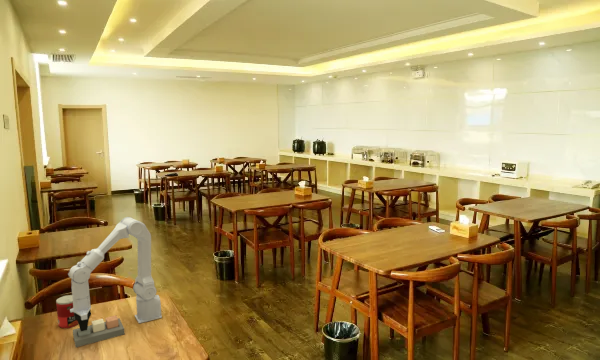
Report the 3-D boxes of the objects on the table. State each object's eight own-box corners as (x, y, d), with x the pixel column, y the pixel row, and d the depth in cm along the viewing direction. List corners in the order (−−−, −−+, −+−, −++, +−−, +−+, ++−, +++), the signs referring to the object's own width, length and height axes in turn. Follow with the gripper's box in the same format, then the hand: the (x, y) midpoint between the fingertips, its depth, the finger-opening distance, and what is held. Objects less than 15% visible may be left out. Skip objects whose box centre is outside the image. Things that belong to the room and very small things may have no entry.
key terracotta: (116, 322, 167) (116, 315, 166) (118, 326, 163) (118, 319, 163) (106, 324, 165) (105, 317, 164) (107, 329, 161) (107, 321, 161)
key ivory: (103, 325, 164) (102, 318, 164) (104, 329, 161) (104, 322, 160) (92, 328, 162) (91, 321, 161) (93, 332, 159) (92, 325, 158)
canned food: (70, 329, 166) (68, 303, 164) (53, 327, 168) (51, 302, 166) (84, 320, 173) (82, 295, 172) (67, 318, 175) (65, 294, 173)
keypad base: (119, 323, 170) (119, 318, 170) (124, 334, 162) (124, 328, 162) (73, 335, 161) (72, 329, 161) (75, 347, 153) (75, 341, 153)
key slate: (89, 333, 162) (89, 326, 161) (90, 337, 158) (90, 330, 158) (78, 336, 159) (77, 329, 159) (79, 341, 156) (78, 333, 156)
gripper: (67, 292, 160) (70, 324, 162) (70, 306, 148) (73, 341, 150) (87, 288, 164) (90, 320, 166) (92, 301, 152) (95, 335, 154)
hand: (83, 329), depth 158 cm, fingers closed, pressing on key slate
